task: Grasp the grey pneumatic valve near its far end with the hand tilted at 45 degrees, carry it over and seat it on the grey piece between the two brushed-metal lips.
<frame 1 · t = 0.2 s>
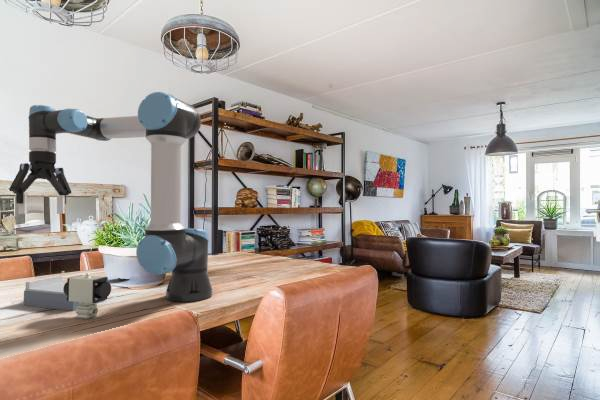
hand: (42, 213, 123), 28 cm above the table, tool pointing down, fingers open, 13 cm apart
pneumatic valve: (88, 317, 100), on the table
grey piece: (65, 302, 113), on the table
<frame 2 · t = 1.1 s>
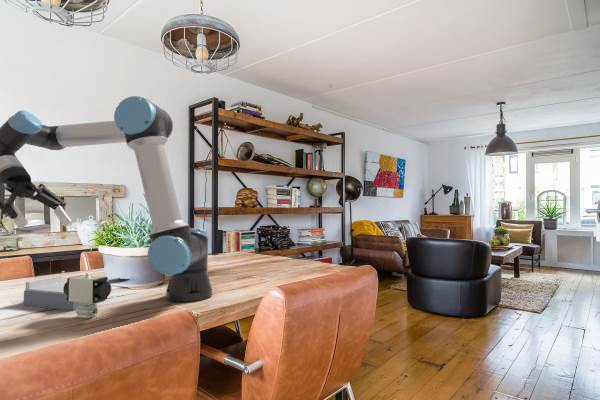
hand: (47, 224, 106), 25 cm above the table, tool tilted 45°, fingers open, 13 cm apart
nothing on the table moved.
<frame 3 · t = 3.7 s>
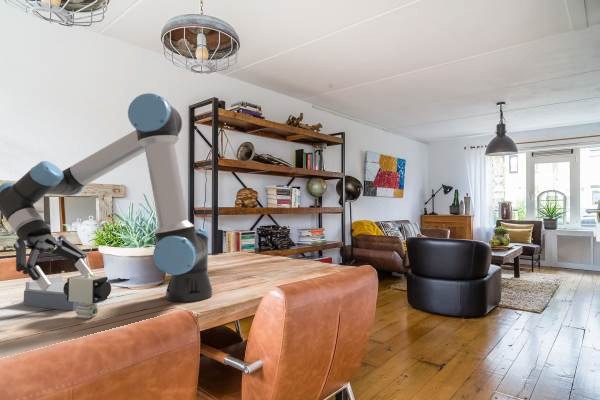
hand: (69, 282, 101), 9 cm above the table, tool tilted 45°, fingers open, 13 cm apart
nothing on the table moved.
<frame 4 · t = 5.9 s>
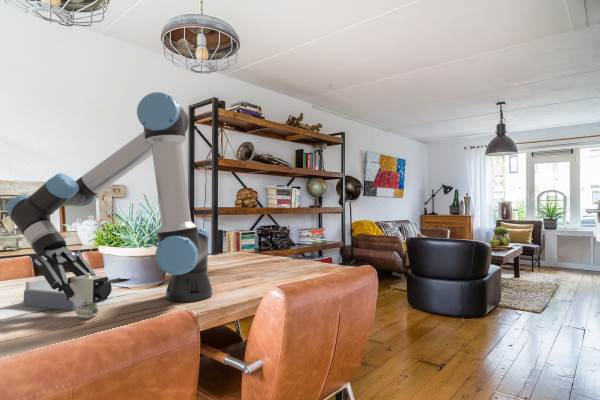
hand: (90, 301, 100), 4 cm above the table, tool tilted 45°, fingers closed on pneumatic valve, 5 cm apart
pneumatic valve: (88, 317, 100), on the table, touching gripper
everything else where it was.
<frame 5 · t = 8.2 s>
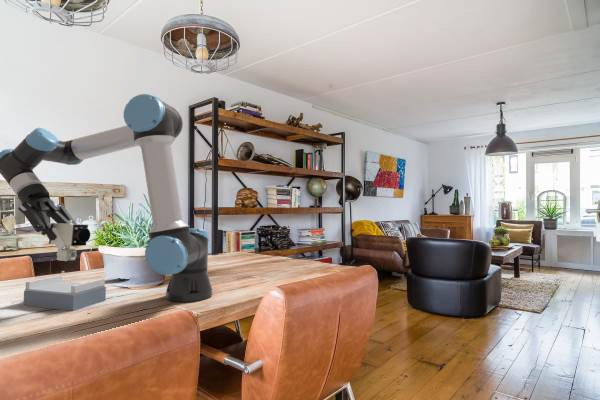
hand: (71, 245, 109), 18 cm above the table, tool tilted 45°, fingers closed on pneumatic valve, 5 cm apart
pneumatic valve: (67, 260, 108), point 14 cm above the table, touching gripper
everything else where it was.
when the fingers open (10 cm above the table, at t = 10.4 s): pneumatic valve stays where it is, resting on grey piece.
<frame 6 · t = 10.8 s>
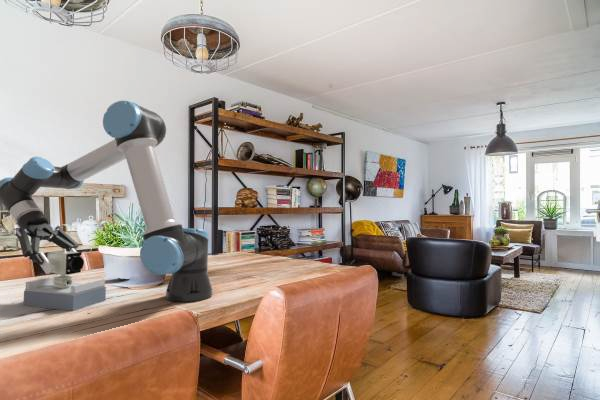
hand: (66, 268, 113), 11 cm above the table, tool tilted 45°, fingers open, 10 cm apart
pneumatic valve: (63, 287, 113), point 5 cm above the table, touching grey piece
everything else where it was.
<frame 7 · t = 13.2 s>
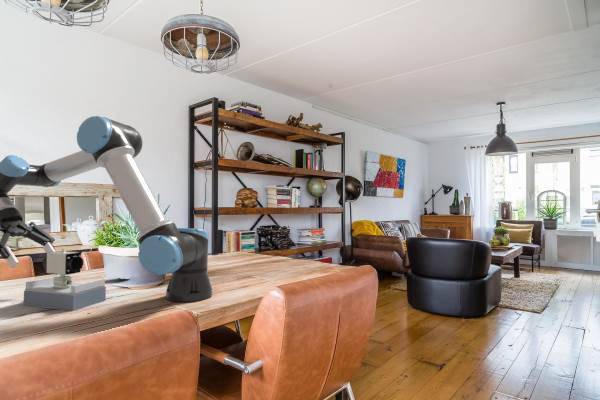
hand: (36, 262, 117), 12 cm above the table, tool tilted 45°, fingers open, 13 cm apart
nothing on the table moved.
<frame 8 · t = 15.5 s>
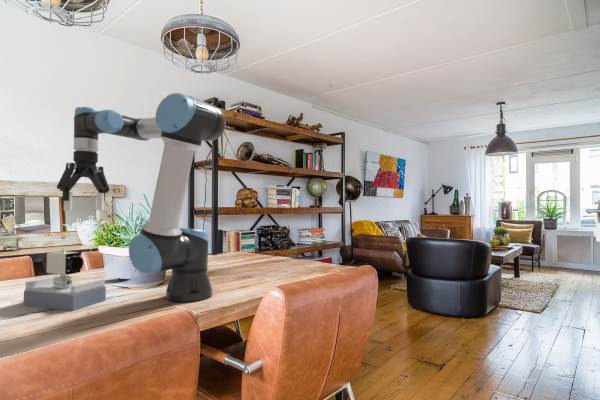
hand: (84, 210, 129), 29 cm above the table, tool pointing down, fingers open, 13 cm apart
nothing on the table moved.
at the end: pneumatic valve inside the target area on the grey piece (0.7 cm from its centre), point 4.8 cm above the grey piece's base; pneumatic valve tilted 0°; the gripper is holding nothing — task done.
